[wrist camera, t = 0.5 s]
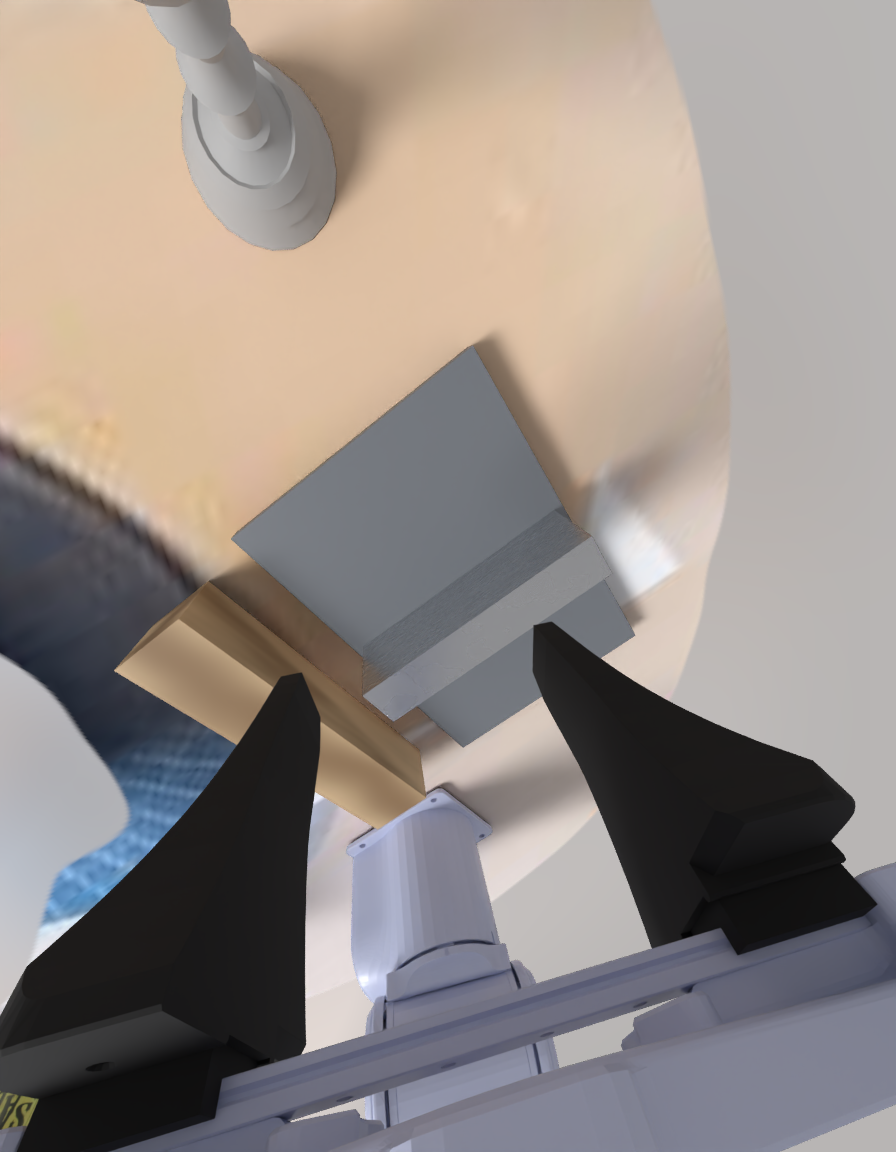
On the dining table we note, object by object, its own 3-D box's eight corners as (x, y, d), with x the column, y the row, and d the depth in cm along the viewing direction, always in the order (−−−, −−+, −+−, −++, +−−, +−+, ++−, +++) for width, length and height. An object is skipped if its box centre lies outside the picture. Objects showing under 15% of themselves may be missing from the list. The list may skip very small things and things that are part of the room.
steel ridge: (389, 671, 24) (393, 722, 20) (362, 646, 23) (362, 695, 19) (573, 542, 22) (612, 573, 19) (554, 509, 21) (591, 535, 18)
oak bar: (376, 775, 29) (377, 829, 26) (155, 622, 21) (113, 670, 18) (419, 746, 29) (426, 797, 25) (210, 578, 21) (178, 619, 17)
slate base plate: (460, 736, 29) (463, 747, 28) (236, 531, 20) (230, 538, 19) (626, 627, 27) (635, 635, 26) (467, 347, 18) (473, 345, 17)
